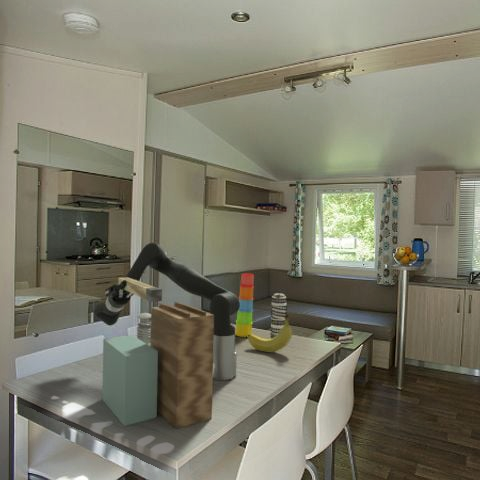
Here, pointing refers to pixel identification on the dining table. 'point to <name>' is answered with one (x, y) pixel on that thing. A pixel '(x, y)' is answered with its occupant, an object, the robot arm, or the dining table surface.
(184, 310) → the tall wooden block
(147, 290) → the pale wooden beam
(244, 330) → the stacking cups
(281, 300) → the decorative candle
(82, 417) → the dining table surface
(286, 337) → the banana
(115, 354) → the pale teal block
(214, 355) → the robot arm
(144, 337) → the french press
